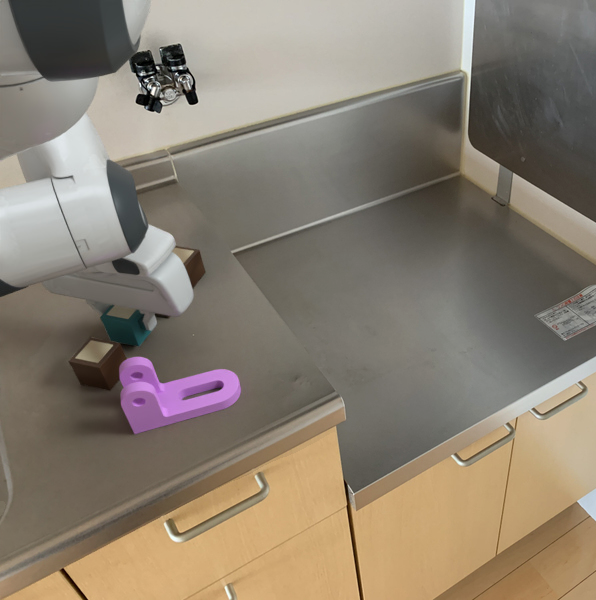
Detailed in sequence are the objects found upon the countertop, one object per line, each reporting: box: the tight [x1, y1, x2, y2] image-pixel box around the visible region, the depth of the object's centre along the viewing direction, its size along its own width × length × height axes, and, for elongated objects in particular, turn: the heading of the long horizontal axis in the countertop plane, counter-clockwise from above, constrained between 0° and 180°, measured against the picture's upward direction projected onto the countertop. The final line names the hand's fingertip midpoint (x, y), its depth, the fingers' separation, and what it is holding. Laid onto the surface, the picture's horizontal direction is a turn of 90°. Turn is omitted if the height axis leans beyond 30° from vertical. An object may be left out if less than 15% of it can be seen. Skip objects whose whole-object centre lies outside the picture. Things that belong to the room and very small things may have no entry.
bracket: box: [119, 356, 242, 435], centre depth 74 cm, size 13×6×7 cm, turn 111°
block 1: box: [68, 336, 128, 392], centre depth 78 cm, size 4×4×4 cm
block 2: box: [172, 245, 206, 290], centre depth 93 cm, size 4×4×4 cm
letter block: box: [99, 304, 158, 347], centre depth 82 cm, size 4×4×4 cm
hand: (130, 323), depth 82 cm, fingers closed on letter block, 4 cm apart
